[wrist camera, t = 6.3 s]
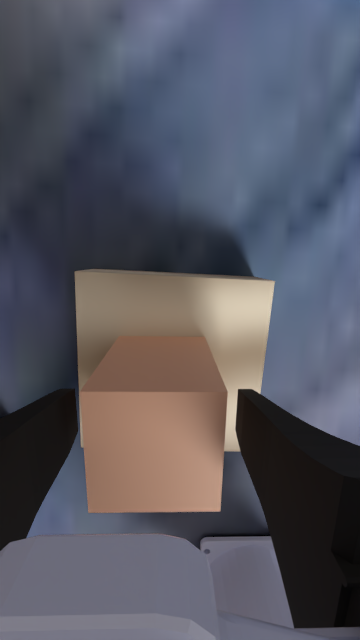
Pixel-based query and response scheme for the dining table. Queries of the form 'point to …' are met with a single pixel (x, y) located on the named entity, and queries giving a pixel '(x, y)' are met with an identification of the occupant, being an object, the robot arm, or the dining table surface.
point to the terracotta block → (154, 427)
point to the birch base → (177, 321)
